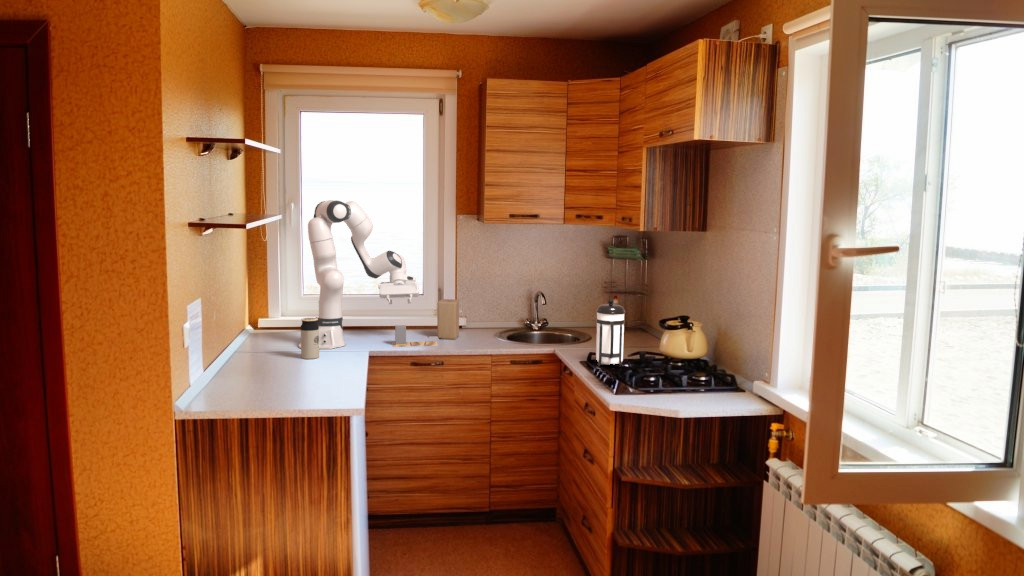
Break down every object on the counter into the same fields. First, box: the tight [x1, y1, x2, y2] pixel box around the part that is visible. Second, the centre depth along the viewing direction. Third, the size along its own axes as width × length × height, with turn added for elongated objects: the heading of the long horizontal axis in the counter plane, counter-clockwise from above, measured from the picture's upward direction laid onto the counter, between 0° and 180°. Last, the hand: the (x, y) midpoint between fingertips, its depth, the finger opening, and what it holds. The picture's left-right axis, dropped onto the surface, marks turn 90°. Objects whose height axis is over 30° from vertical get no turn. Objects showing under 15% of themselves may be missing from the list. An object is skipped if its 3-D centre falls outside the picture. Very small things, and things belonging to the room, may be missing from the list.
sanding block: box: [394, 324, 407, 345], centre depth 376 cm, size 5×5×9 cm
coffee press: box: [595, 298, 626, 366], centre depth 338 cm, size 17×16×30 cm
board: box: [391, 340, 439, 348], centre depth 377 cm, size 22×12×2 cm, turn 101°
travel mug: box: [300, 317, 320, 360], centre depth 349 cm, size 8×8×18 cm
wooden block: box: [436, 298, 460, 340], centre depth 402 cm, size 10×10×20 cm
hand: (399, 303), depth 387 cm, fingers open, 8 cm apart
